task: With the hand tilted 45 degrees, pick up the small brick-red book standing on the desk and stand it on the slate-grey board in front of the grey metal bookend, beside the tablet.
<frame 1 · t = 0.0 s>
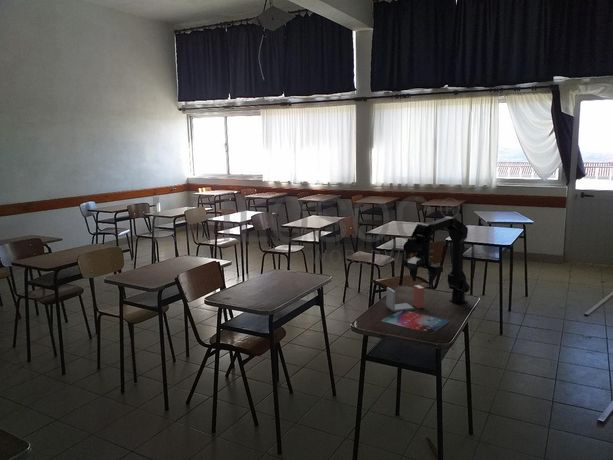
hand: (422, 283, 219), 15 cm above the table, tool pointing down, fingers open, 9 cm apart
book: (418, 306, 232), on the table
tablet: (415, 322, 213), on the table
bookstand: (399, 308, 230), on the table
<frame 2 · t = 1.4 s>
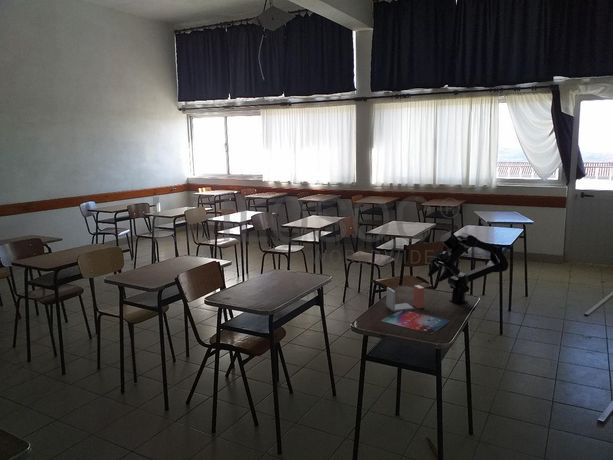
hand: (433, 278, 232), 13 cm above the table, tool tilted 45°, fingers open, 9 cm apart
nothing on the table moved.
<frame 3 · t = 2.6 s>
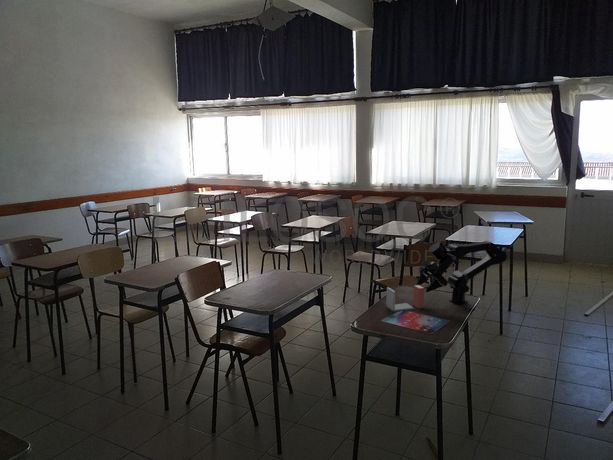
hand: (421, 288, 231), 9 cm above the table, tool tilted 45°, fingers open, 9 cm apart
nothing on the table moved.
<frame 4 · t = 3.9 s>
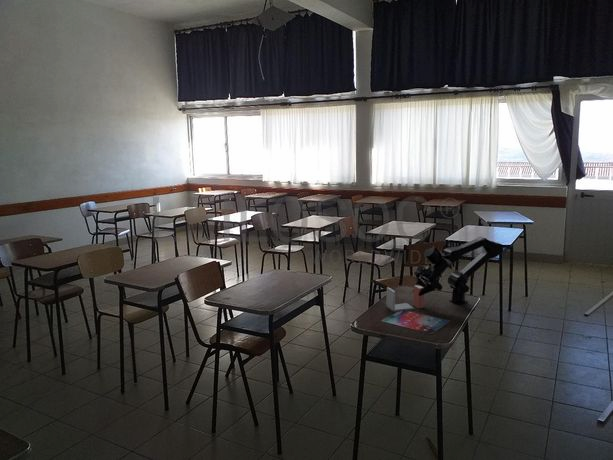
hand: (416, 293, 231), 7 cm above the table, tool tilted 45°, fingers closed on book, 5 cm apart
book: (418, 306, 232), on the table, touching gripper
everything else where it was.
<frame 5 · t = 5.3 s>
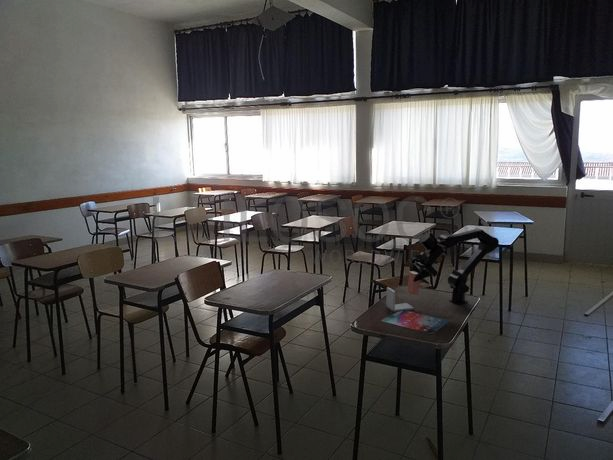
hand: (411, 279, 228), 14 cm above the table, tool tilted 45°, fingers closed on book, 5 cm apart
book: (413, 292, 230), point 7 cm above the table, touching gripper
everything else where it was.
when the fingers open (9 cm above the table, at t = 7.1 s): book drops 1 cm, resting on bookstand.
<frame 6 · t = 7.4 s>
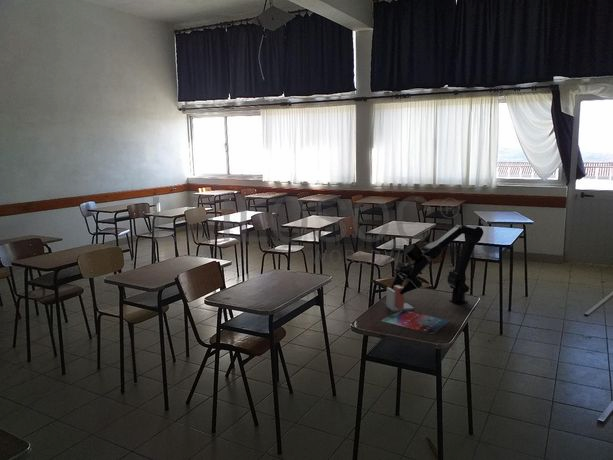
hand: (396, 290, 227), 9 cm above the table, tool tilted 45°, fingers open, 9 cm apart
book: (398, 306, 229), point 1 cm above the table, touching bookstand
everything else where it was.
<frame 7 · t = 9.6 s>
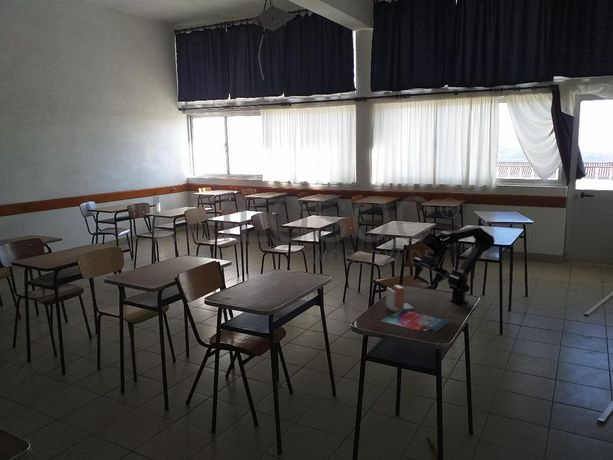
hand: (422, 283, 226), 13 cm above the table, tool tilted 35°, fingers open, 9 cm apart
nothing on the table moved.
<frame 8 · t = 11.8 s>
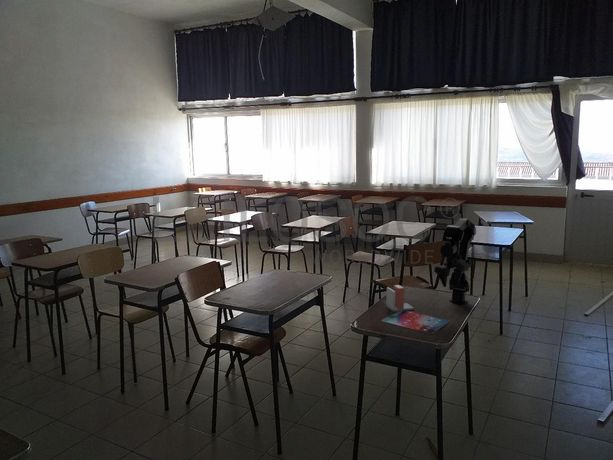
hand: (450, 285, 223), 13 cm above the table, tool pointing down, fingers open, 9 cm apart
nothing on the table moved.
at the end: book inside the target area on the bookstand (0.7 cm from its centre), point 1.0 cm above the bookstand's base; book tilted 0°; the gripper is holding nothing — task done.
